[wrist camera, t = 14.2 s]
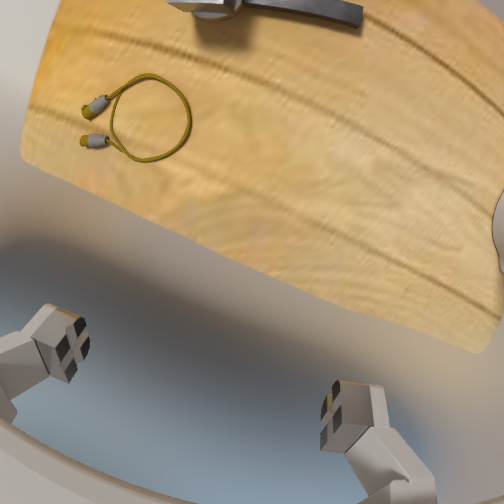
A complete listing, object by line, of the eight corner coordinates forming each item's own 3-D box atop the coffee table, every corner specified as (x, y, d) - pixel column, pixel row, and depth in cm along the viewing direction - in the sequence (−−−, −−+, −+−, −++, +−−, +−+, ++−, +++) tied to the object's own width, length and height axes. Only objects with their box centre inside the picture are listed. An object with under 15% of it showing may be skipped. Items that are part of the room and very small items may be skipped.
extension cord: (101, 59, 33) (92, 58, 31) (206, 91, 34) (202, 91, 32) (79, 141, 39) (71, 144, 37) (174, 179, 40) (168, 184, 39)
